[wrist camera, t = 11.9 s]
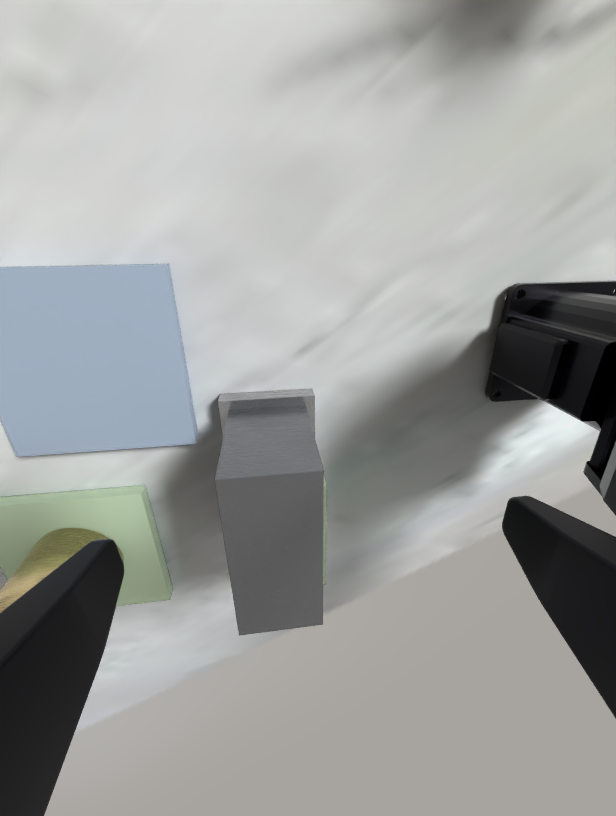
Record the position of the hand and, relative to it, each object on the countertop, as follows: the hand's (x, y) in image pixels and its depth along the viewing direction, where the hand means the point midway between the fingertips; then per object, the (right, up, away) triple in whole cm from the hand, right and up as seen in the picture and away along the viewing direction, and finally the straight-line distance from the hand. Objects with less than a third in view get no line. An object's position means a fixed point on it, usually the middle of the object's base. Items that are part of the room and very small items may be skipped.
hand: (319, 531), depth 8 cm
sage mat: (-14, -6, +14) cm, 21 cm away
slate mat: (-11, +5, +9) cm, 15 cm away
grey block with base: (-2, -1, +13) cm, 13 cm away
